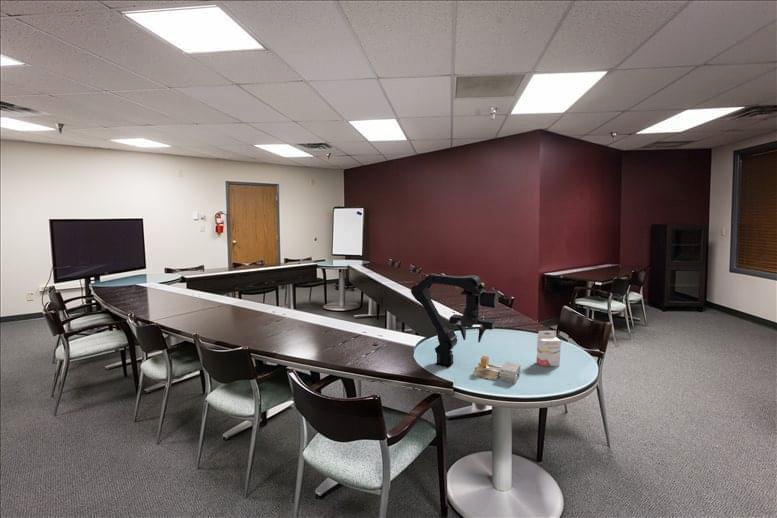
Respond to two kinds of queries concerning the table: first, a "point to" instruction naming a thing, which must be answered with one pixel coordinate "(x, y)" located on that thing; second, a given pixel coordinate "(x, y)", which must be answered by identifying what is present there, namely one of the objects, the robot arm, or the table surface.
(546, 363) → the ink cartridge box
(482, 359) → the lock bolt
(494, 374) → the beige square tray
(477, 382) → the table surface
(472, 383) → the table surface
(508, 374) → the block
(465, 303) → the robot arm
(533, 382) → the table surface
